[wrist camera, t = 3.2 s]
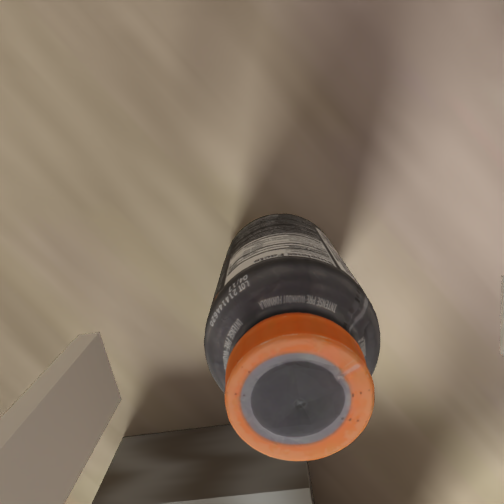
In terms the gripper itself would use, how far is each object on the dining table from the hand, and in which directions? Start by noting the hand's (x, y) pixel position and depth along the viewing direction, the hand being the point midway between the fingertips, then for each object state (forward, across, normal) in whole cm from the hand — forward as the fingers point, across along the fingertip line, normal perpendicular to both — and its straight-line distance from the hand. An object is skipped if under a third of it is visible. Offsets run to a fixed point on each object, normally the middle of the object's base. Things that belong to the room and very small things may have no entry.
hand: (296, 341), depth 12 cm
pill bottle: (+9, 0, 0) cm, 9 cm away
